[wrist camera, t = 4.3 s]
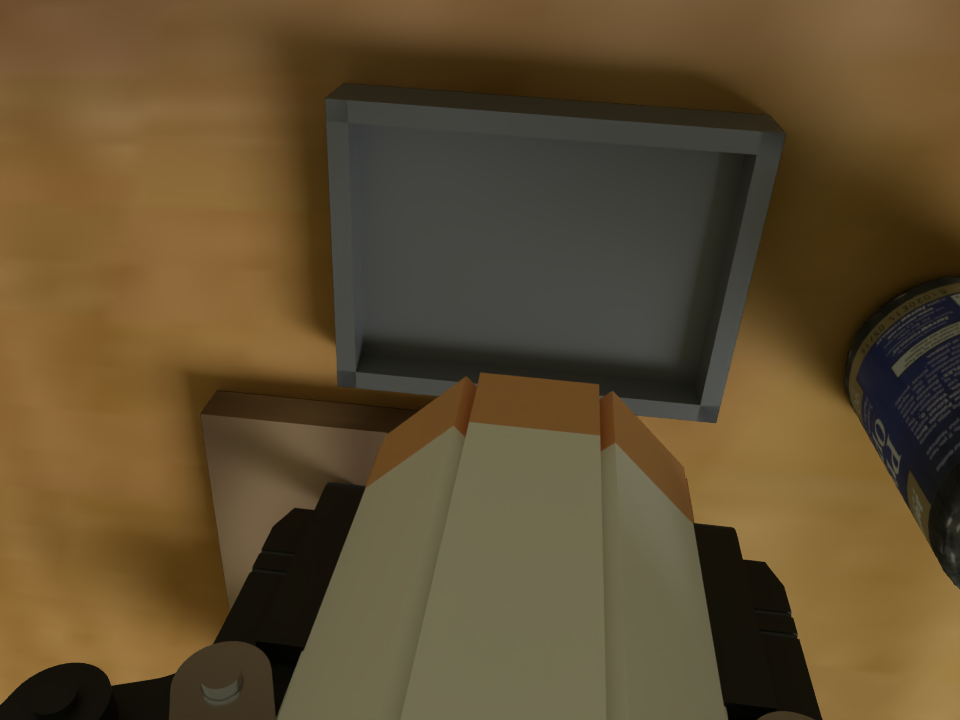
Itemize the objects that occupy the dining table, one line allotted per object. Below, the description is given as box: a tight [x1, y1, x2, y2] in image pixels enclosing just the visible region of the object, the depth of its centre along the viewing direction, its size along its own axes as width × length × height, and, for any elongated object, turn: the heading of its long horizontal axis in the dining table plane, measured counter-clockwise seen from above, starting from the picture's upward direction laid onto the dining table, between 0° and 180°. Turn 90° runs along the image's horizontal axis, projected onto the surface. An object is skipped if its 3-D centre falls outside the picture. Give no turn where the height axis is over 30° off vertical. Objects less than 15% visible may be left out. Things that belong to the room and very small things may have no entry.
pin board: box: [200, 391, 418, 611], centre depth 30 cm, size 10×16×6 cm, turn 177°
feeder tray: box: [325, 83, 786, 423], centre depth 24 cm, size 12×9×2 cm
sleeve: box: [276, 373, 728, 720], centre depth 12 cm, size 6×6×7 cm
